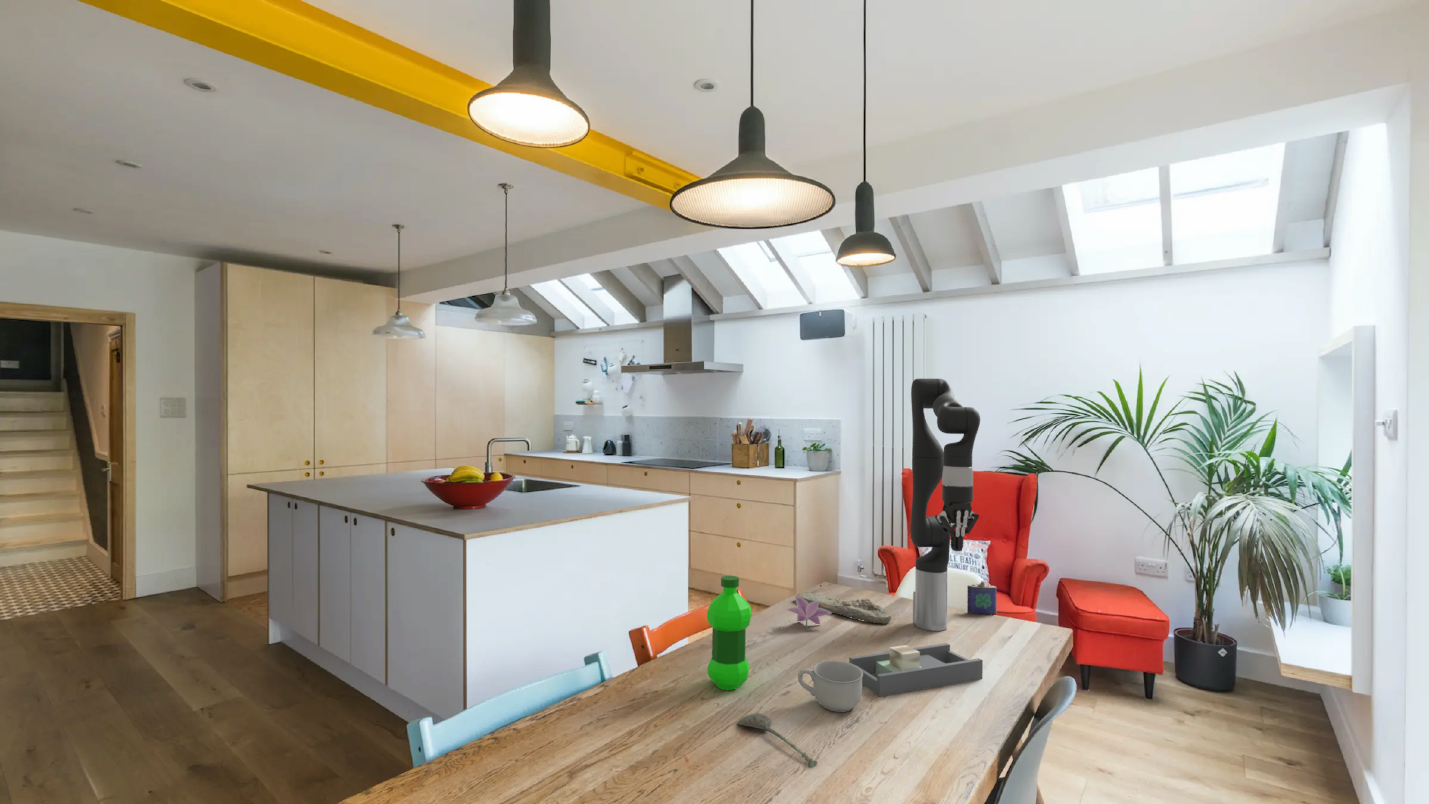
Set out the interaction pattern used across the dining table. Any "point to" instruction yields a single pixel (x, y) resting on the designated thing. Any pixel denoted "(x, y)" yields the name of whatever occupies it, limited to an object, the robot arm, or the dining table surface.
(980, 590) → the blue clover-printed container
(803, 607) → the lily
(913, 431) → the robot arm
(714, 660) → the plastic bottle
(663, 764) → the dining table surface
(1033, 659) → the dining table surface
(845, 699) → the teacup
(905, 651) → the block
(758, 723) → the soupspoon
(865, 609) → the long grey stone
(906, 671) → the trap lane
